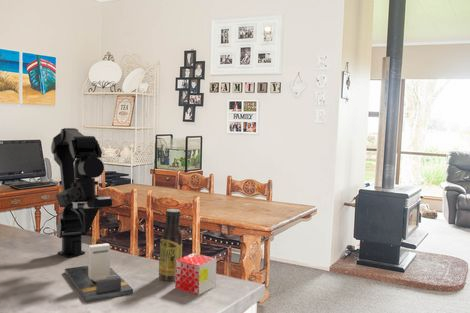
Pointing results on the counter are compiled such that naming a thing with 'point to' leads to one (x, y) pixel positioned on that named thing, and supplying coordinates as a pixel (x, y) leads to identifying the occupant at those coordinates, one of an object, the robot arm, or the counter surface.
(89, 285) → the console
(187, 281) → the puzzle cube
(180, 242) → the sauce bottle
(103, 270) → the fader tab
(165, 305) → the counter surface
